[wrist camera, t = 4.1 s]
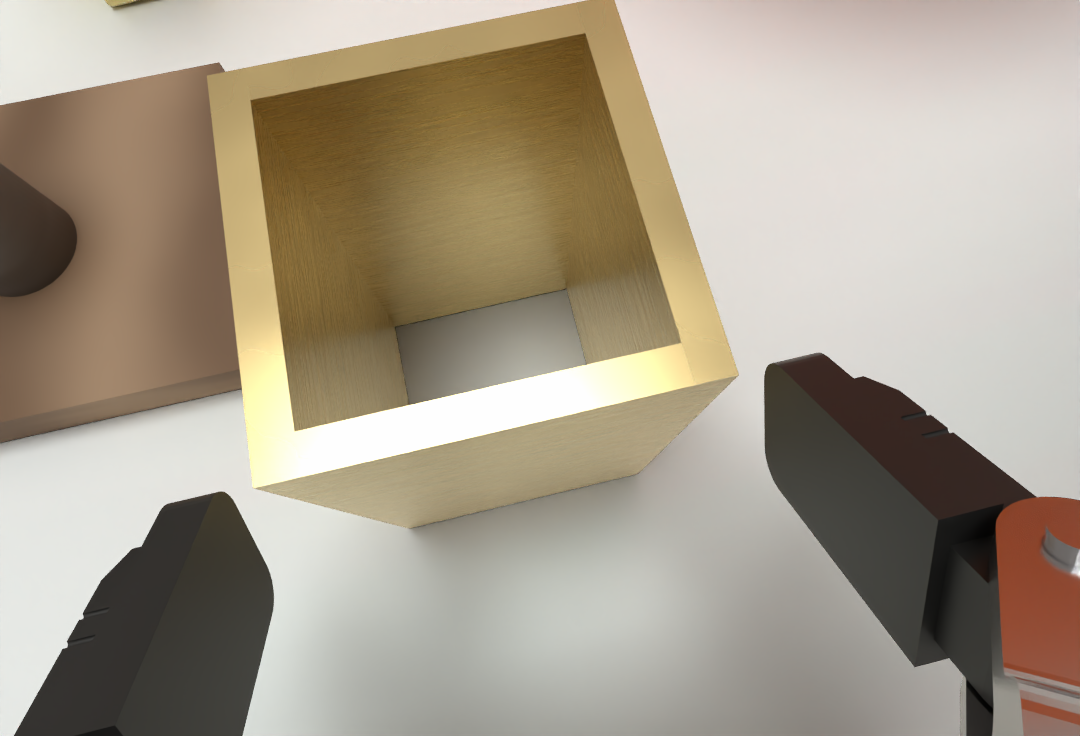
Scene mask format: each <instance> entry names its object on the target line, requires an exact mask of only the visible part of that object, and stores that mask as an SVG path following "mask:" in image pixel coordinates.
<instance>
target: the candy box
mask: <svg viewBox="0 0 1080 736" xmlns="http://www.w3.org/2000/svg"><path fill="white" fill-rule="evenodd" d="M105 1H106V2H107V4H108V5H109V6H111V7H115V6H119V5H123V4H127V3H132V2H135V1H139V0H105Z"/></svg>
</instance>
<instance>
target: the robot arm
mask: <svg viewBox="0 0 1080 736" xmlns="http://www.w3.org/2000/svg"><path fill="white" fill-rule="evenodd" d="M764 405H765V454H766V459H767V464H768V467H769V470H770V473H771V475H772V478H773V480H774V482H775V484H776V485H777V487H778V489H779V490H780V491H781V493H782V494H783V495H784V497H785V498H786V499H787V500H788V502H789V503H790V504H791V506H792V507H793V508H794V510H795V511H796V512H797V514H798V515H799V516H800V517H801V519H802V520H803V521H804V523H805V524H806V525H807V527H808V528H809V529H810V531H811V532H812V533H813V535H814V536H815V537H816V538H817V540H818V541H819V542H820V544H821V545H822V546H823V548H824V549H825V550H826V552H827V553H828V554H829V555H830V557H831V558H832V559H833V561H834V562H835V563H836V565H837V566H838V567H839V569H840V570H841V571H842V572H843V574H844V575H845V576H846V578H847V579H848V580H849V582H850V583H851V584H852V586H853V587H854V588H855V590H856V591H857V592H858V593H859V595H860V596H861V597H862V599H863V600H864V601H865V603H866V604H867V605H868V607H869V608H870V609H871V610H872V612H873V613H874V614H875V616H876V617H877V618H878V620H879V621H880V622H881V624H882V625H883V626H884V627H885V629H886V630H887V631H888V633H889V634H890V635H891V637H892V638H893V639H894V641H895V642H896V643H897V645H898V646H899V647H900V648H901V650H902V651H903V652H904V654H905V655H906V656H907V658H908V659H909V660H910V662H911V663H912V664H913V665H914V667H917V666H921V665H925V664H928V663H932V662H936V661H940V660H943V659H947V658H950V659H951V661H952V662H953V663H954V664H955V665H956V667H957V668H958V669H959V670H960V671H961V673H962V674H963V678H962V683H961V690H960V736H1080V500H1075V499H1069V498H1060V497H1036V496H1034V495H1033V494H1032V493H1031V492H1029V491H1028V490H1027V489H1025V488H1024V487H1023V486H1022V485H1020V484H1019V483H1018V482H1016V481H1015V480H1014V479H1013V478H1011V477H1010V476H1009V475H1007V474H1006V473H1005V472H1004V471H1002V470H1001V469H1000V468H998V467H997V466H996V465H995V464H993V463H992V462H991V461H989V460H988V459H987V458H986V457H984V456H983V455H982V454H980V453H979V452H978V451H976V450H975V449H974V448H973V447H971V446H970V445H969V444H967V443H966V442H965V441H964V440H962V439H961V438H960V437H958V436H957V435H956V434H955V433H949V432H948V428H947V427H946V426H944V425H943V424H942V423H940V422H939V421H938V420H937V419H935V418H934V417H933V416H931V415H929V416H927V415H926V412H925V410H924V409H922V408H921V407H920V406H919V405H917V404H916V403H915V402H913V401H912V400H911V399H910V398H908V397H907V396H906V395H904V394H903V393H902V392H901V391H899V390H897V389H894V388H892V387H889V386H887V385H884V384H882V383H879V382H876V381H874V380H871V379H869V378H866V377H864V376H863V377H859V378H852V377H851V376H850V375H849V374H848V373H846V372H845V371H844V370H843V369H842V368H840V367H839V366H838V365H837V364H836V363H834V362H833V361H832V360H831V359H830V358H828V357H827V356H826V355H824V354H822V353H814V354H810V355H806V356H802V357H797V358H793V359H789V360H785V361H780V362H776V363H772V364H769V365H768V366H767V368H766V371H765V376H764ZM273 605H274V593H273V585H272V579H271V576H270V573H269V570H268V567H267V565H266V563H265V561H264V559H263V557H262V555H261V553H260V551H259V550H258V548H257V546H256V544H255V542H254V540H253V538H252V536H251V534H250V532H249V530H248V528H247V526H246V524H245V522H244V520H243V518H242V516H241V514H240V512H239V510H238V508H237V506H236V505H235V503H234V501H233V500H232V498H231V497H230V496H229V495H228V494H227V493H225V492H216V493H212V494H208V495H204V496H199V497H195V498H191V499H187V500H182V501H178V502H174V503H170V504H167V505H165V506H164V507H163V508H162V509H161V511H160V512H159V514H158V516H157V518H156V520H155V522H154V524H153V526H152V528H151V530H150V531H149V533H148V535H147V537H146V539H145V541H144V543H143V545H142V547H138V548H134V549H132V550H131V551H130V552H129V553H128V554H127V555H126V556H125V557H124V558H123V559H122V560H121V561H120V562H119V563H118V564H117V565H116V566H115V567H114V568H113V569H112V570H111V571H110V572H109V573H108V574H107V575H106V576H105V577H104V578H103V579H102V580H101V582H100V584H99V586H98V587H97V589H96V591H95V593H94V594H93V596H92V598H91V600H90V602H89V603H88V605H87V607H86V609H85V610H84V612H83V615H84V618H83V619H82V620H79V621H78V623H77V625H76V626H75V628H74V630H73V632H72V633H71V635H70V637H69V639H68V641H67V643H68V647H67V648H65V649H62V651H61V653H60V655H59V657H58V658H57V660H56V662H55V664H54V665H53V667H52V669H51V671H50V673H49V674H48V676H47V678H46V680H45V681H44V683H43V685H42V687H41V689H40V690H39V692H38V694H37V696H36V697H35V699H34V701H33V703H32V705H31V706H30V708H29V710H28V712H27V713H26V715H25V717H24V719H23V721H22V722H21V724H20V726H19V728H18V729H17V731H16V733H15V735H14V736H242V735H243V731H244V727H245V723H246V719H247V715H248V711H249V706H250V702H251V698H252V694H253V690H254V686H255V682H256V678H257V674H258V670H259V666H260V662H261V658H262V653H263V649H264V645H265V641H266V637H267V633H268V629H269V625H270V621H271V617H272V612H273Z"/></svg>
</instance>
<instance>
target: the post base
mask: <svg viewBox="0 0 1080 736" xmlns="http://www.w3.org/2000/svg"><path fill="white" fill-rule="evenodd" d="M222 72H225V71H224V69H223V68H222V66H221V65H220V63H214V64H209V65H204V66H199V67H194V68H189V69H183V70H178V71H173V72H168V73H163V74H158V75H153V76H148V77H143V78H138V79H133V80H127V81H122V82H117V83H112V84H107V85H102V86H97V87H92V88H87V89H82V90H77V91H71V92H66V93H61V94H56V95H51V96H46V97H41V98H36V99H31V100H26V101H21V102H15V103H10V104H5V105H0V443H1V442H6V441H10V440H14V439H19V438H23V437H28V436H32V435H37V434H41V433H46V432H50V431H55V430H59V429H64V428H68V427H72V426H77V425H81V424H86V423H90V422H95V421H99V420H104V419H108V418H113V417H117V416H121V415H126V414H130V413H135V412H139V411H144V410H148V409H153V408H157V407H162V406H166V405H171V404H175V403H179V402H184V401H188V400H193V399H197V398H202V397H206V396H211V395H215V394H220V393H224V392H228V391H233V390H237V389H242V385H241V376H240V367H239V358H238V349H237V341H236V332H235V323H234V314H233V305H232V296H231V287H230V278H229V269H228V260H227V251H226V243H225V234H224V225H223V216H222V207H221V198H220V189H219V180H218V171H217V162H216V153H215V145H214V136H213V127H212V118H211V109H210V100H209V91H208V82H207V75H212V74H217V73H222Z"/></svg>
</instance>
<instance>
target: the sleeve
mask: <svg viewBox="0 0 1080 736" xmlns="http://www.w3.org/2000/svg"><path fill="white" fill-rule="evenodd" d="M207 82H208V91H209V100H210V109H211V118H212V127H213V136H214V145H215V153H216V162H217V171H218V180H219V189H220V198H221V207H222V216H223V225H224V234H225V243H226V251H227V260H228V269H229V278H230V287H231V296H232V305H233V314H234V323H235V332H236V341H237V349H238V358H239V367H240V376H241V385H242V394H243V403H244V412H245V421H246V430H247V439H248V447H249V456H250V465H251V474H252V483H253V488H254V489H258V490H262V491H266V492H270V493H274V494H277V495H281V496H285V497H289V498H293V499H297V500H301V501H304V502H308V503H312V504H316V505H320V506H324V507H328V508H332V509H335V510H339V511H343V512H347V513H351V514H355V515H359V516H362V517H366V518H370V519H374V520H378V521H382V522H386V523H390V524H393V525H397V526H401V527H405V528H409V529H410V528H414V527H418V526H422V525H426V524H431V523H435V522H439V521H443V520H447V519H451V518H456V517H460V516H464V515H468V514H472V513H476V512H481V511H485V510H489V509H493V508H497V507H502V506H506V505H510V504H514V503H518V502H522V501H527V500H531V499H535V498H539V497H543V496H547V495H552V494H556V493H560V492H564V491H568V490H572V489H577V488H581V487H585V486H589V485H593V484H598V483H602V482H606V481H610V480H614V479H618V478H623V477H627V476H631V475H635V474H638V473H640V472H641V471H642V470H643V469H644V468H645V467H646V466H647V465H648V464H649V463H650V462H651V461H652V460H653V459H654V458H655V457H656V456H657V455H658V454H659V453H660V452H661V451H662V450H663V449H664V448H665V447H666V446H667V445H668V444H669V443H670V442H671V441H672V440H673V439H674V438H675V437H676V436H677V435H678V434H679V433H680V432H681V431H682V430H683V429H684V428H685V427H686V426H687V425H688V424H689V423H691V422H692V421H693V420H694V419H695V418H696V417H697V416H698V415H699V414H700V413H701V412H702V411H703V410H704V409H705V408H706V407H707V406H708V405H709V404H710V403H711V402H712V401H713V400H714V399H715V398H716V397H717V396H718V395H719V394H720V393H721V392H722V391H723V390H724V389H725V388H726V387H727V386H728V385H729V384H730V383H731V382H732V381H733V380H734V379H735V378H736V377H737V376H738V375H739V374H738V371H737V368H736V365H735V362H734V359H733V356H732V353H731V350H730V347H729V344H728V341H727V338H726V335H725V332H724V329H723V326H722V323H721V320H720V317H719V314H718V311H717V308H716V305H715V302H714V299H713V296H712V293H711V290H710V287H709V284H708V281H707V278H706V275H705V272H704V269H703V266H702V263H701V260H700V257H699V254H698V251H697V248H696V245H695V242H694V239H693V235H692V232H691V229H690V226H689V223H688V220H687V217H686V214H685V211H684V208H683V205H682V202H681V199H680V196H679V193H678V190H677V187H676V184H675V181H674V178H673V175H672V172H671V169H670V166H669V163H668V160H667V157H666V154H665V151H664V148H663V145H662V142H661V139H660V136H659V133H658V130H657V127H656V124H655V121H654V118H653V115H652V112H651V109H650V106H649V103H648V100H647V97H646V94H645V91H644V88H643V85H642V82H641V79H640V76H639V73H638V70H637V67H636V64H635V61H634V58H633V55H632V52H631V49H630V46H629V43H628V40H627V37H626V34H625V31H624V28H623V25H622V22H621V19H620V16H619V13H618V10H617V7H616V4H615V1H614V0H587V1H582V2H577V3H572V4H567V5H562V6H557V7H552V8H547V9H542V10H537V11H532V12H527V13H521V14H516V15H511V16H506V17H501V18H496V19H491V20H486V21H481V22H476V23H471V24H466V25H461V26H456V27H451V28H445V29H440V30H435V31H430V32H425V33H420V34H415V35H410V36H405V37H400V38H395V39H390V40H385V41H380V42H374V43H369V44H364V45H359V46H354V47H349V48H344V49H339V50H334V51H329V52H324V53H319V54H314V55H309V56H304V57H298V58H293V59H288V60H283V61H278V62H273V63H268V64H263V65H258V66H253V67H248V68H243V69H238V70H233V71H228V72H222V73H217V74H212V75H207ZM562 289H567V293H568V296H569V300H570V304H571V308H572V311H573V315H574V319H575V323H576V326H577V330H578V334H579V338H580V341H581V345H582V349H583V353H584V356H585V360H586V364H587V365H583V366H579V367H575V368H570V369H566V370H562V371H557V372H553V373H548V374H544V375H540V376H535V377H531V378H527V379H522V380H518V381H513V382H509V383H505V384H500V385H496V386H492V387H487V388H483V389H479V390H474V391H470V392H465V393H461V394H457V395H452V396H448V397H444V398H439V399H435V400H430V401H426V402H422V403H417V404H413V405H409V401H408V395H407V390H406V385H405V379H404V374H403V368H402V363H401V357H400V352H399V347H398V341H397V336H396V330H395V327H396V326H400V325H405V324H409V323H414V322H418V321H423V320H427V319H432V318H436V317H441V316H445V315H450V314H454V313H459V312H463V311H468V310H472V309H477V308H481V307H486V306H490V305H495V304H499V303H504V302H508V301H513V300H517V299H522V298H526V297H531V296H535V295H540V294H544V293H549V292H553V291H558V290H562Z"/></svg>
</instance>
